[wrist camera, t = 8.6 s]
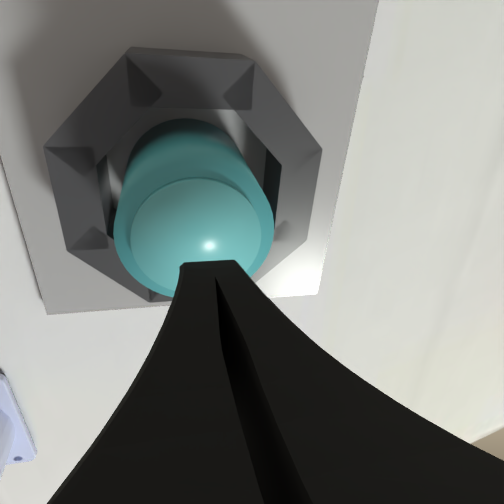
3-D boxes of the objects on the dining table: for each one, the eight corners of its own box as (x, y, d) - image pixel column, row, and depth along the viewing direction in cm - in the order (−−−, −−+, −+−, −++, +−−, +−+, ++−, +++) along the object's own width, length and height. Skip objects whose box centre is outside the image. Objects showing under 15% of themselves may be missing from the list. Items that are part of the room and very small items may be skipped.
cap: (135, 234, 17) (125, 312, 12) (117, 119, 14) (97, 167, 10) (244, 226, 18) (271, 296, 13) (246, 117, 15) (282, 160, 11)
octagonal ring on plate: (49, 306, 18) (32, 352, 16) (-52, -52, 11) (-113, -71, 9) (313, 287, 21) (333, 323, 19) (372, -6, 14) (417, -11, 12)
